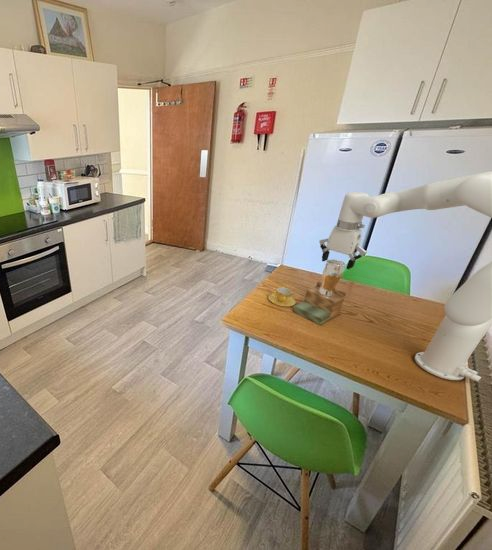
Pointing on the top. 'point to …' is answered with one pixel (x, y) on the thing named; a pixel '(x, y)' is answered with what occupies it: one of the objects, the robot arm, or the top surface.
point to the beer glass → (331, 277)
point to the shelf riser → (320, 305)
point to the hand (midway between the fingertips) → (336, 264)
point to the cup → (282, 297)
